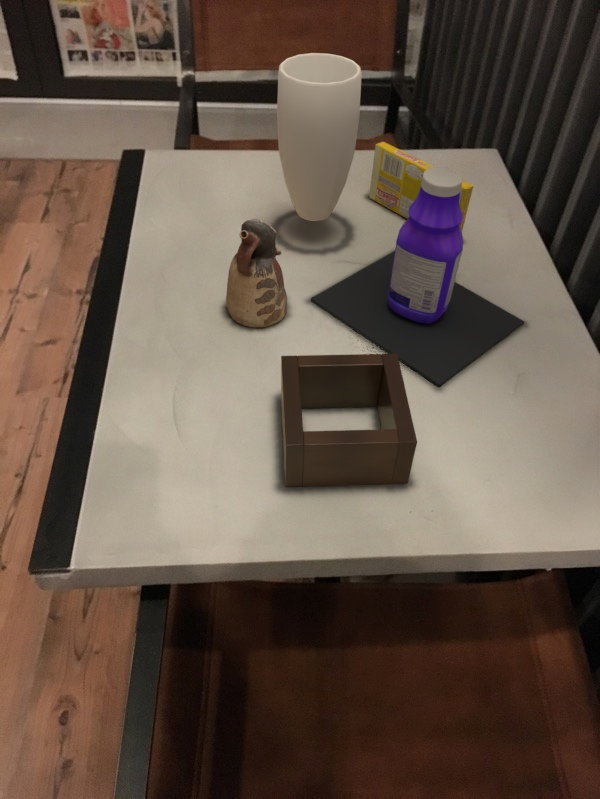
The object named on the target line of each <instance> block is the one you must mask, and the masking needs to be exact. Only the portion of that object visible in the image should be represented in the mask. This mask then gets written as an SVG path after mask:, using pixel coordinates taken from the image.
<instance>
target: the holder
mask: <svg viewBox="0 0 600 799" xmlns="http://www.w3.org/2000/svg"><path fill="white" fill-rule="evenodd" d="M280 405H281V407H280V408H281V426H282V449H283V469H284V470H283V471H284V486H285V487H319V486H351V485H352V486H353V485H384V484H386V485H387V484H388V485H389V484H408V483H409V480H410V475H411V470H412V467H413V462H414V458H415V453H416V449H417V446H418V439H417V436H416V431H415V430H416V429H415V426H414V422H413V417H412V413H411V408H410V404H409V400H408V396H407V391H406V386H405V382H404V378H403V373H402V368H401V365H400V361H399V359H398V355H397V354H389V353H363V354H361V353H360V354H358V353H357V354H313V355H311V354H310V355H309V354H308V355H307V354H306V355H304V354H303V355H281V357H280ZM354 407H355V408H358V407H359V408H361V407H377V412H378V417H379V424H380V428H381V429H348V430H347V429H346V430H345V429H344V430H341V429H340V430H309V431H307V430H305V431H304V426H303V410H302V409H313V408H314V409H319V408H323V409H324V408H354Z"/></svg>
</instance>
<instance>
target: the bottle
mask: <svg viewBox="0 0 600 799" xmlns="http://www.w3.org/2000/svg"><path fill="white" fill-rule="evenodd" d="M462 181H464V180H463V176H462V174H461V173H460V172H458V171H456V170H454V169H452V168H449V167H445V166H434V167H433V168H429V169H427V170H426V171H425V172H424V174H423V178H422V182H421V188H420V192H419V194H418V196H417V198H416V199H415V201H414V202H413V203H412V204H411V205H410V207H409V211H408V213H409V218H408V219H407V218H406V220H405V222H404V223H403V224H402V226H401V227H400V229H399V230H398V234H397V237H396V240H395V241H396V242H395V247H394V251H395V254H394V260H393V266H392V273H391V279H390V285H389V291H388V302H389V305H390V308H391V309H392V310H393V311H394V312H396V313H397V314H399V315H401V316H403V317H405V318H407V319H410V320H413V321H416V322H419V323H425V324H430V323H433V322H435V321H436V320H438V319H439V318H440V317H441V315H442V314H443V313H444V312H445V311H446V310H447V308H448V305H449V301H450V299H451V295H452V291H453V287H454V283H455V282H456V278H457V274H458V271H459V266H460V262H461V259H462V258H461V257H462V253H463V251H464V250H463V249H464V238H463V232H462V233H461V230H460V227H459V225H460V224H461V222H462V219H463V215H462V212H461V209H460V206H459V197H460V191H461V186H462Z"/></svg>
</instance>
